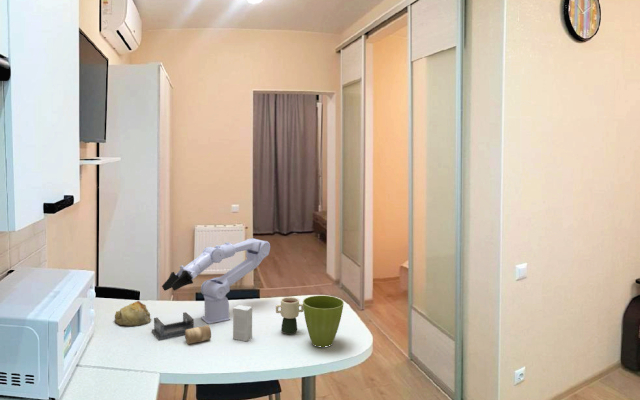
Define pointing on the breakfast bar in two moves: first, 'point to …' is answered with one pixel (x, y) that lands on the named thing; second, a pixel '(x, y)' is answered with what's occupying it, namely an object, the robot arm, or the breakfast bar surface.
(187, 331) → the cylinder
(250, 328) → the skincare box
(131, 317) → the pastry
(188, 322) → the holder
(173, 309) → the breakfast bar surface
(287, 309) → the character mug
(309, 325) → the flower pot
